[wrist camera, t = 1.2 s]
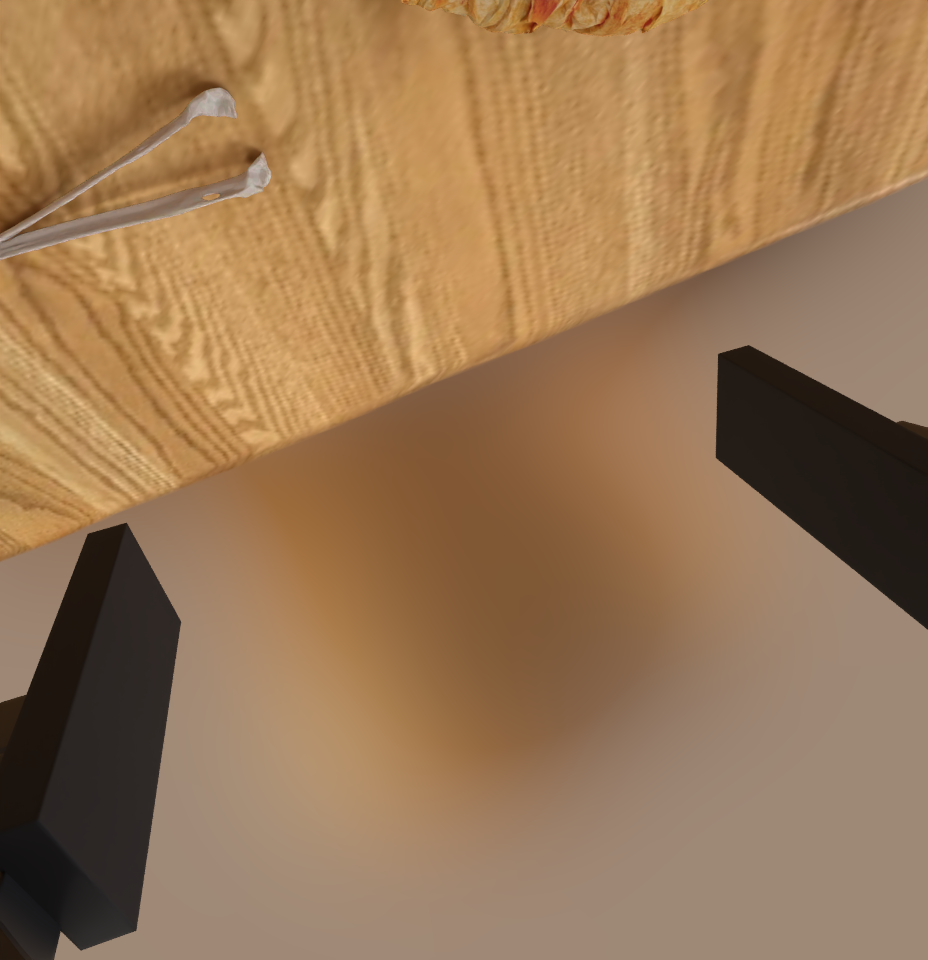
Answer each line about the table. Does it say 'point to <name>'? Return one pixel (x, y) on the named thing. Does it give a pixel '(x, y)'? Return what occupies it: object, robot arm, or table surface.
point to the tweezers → (167, 206)
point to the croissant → (566, 14)
